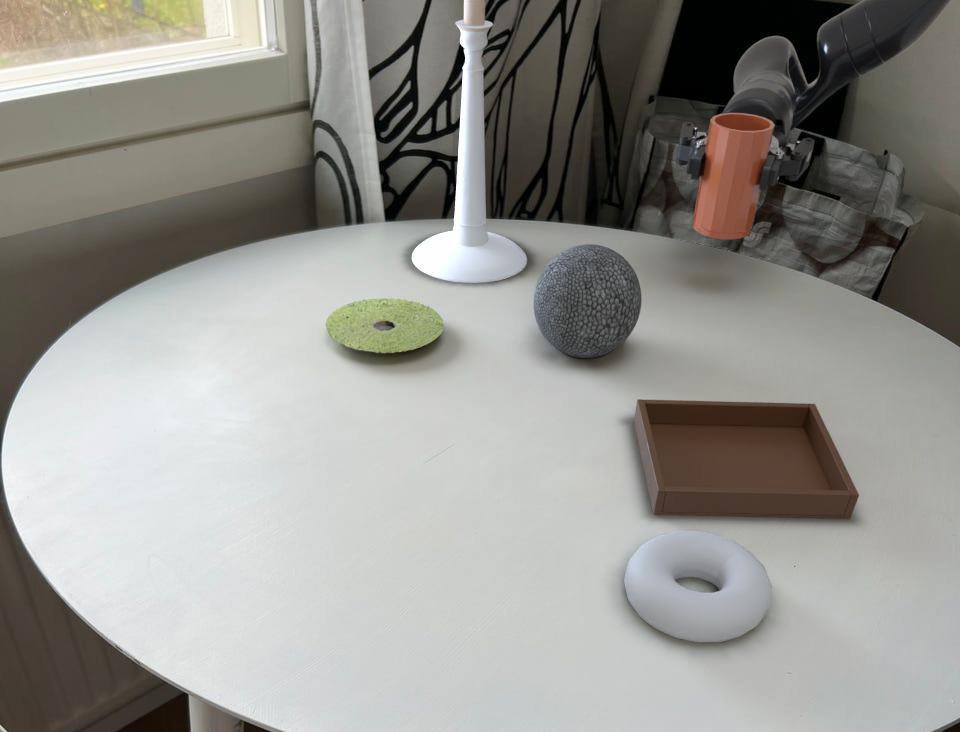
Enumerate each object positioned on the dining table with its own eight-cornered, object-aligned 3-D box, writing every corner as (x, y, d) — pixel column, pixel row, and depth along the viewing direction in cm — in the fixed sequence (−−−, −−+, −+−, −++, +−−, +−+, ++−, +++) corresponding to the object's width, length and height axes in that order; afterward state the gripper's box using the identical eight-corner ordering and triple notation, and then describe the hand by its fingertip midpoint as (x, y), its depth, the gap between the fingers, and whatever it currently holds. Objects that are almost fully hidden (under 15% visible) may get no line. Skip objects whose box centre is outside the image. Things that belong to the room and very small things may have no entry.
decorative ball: (580, 389, 87) (593, 282, 80) (508, 347, 92) (514, 243, 85) (654, 356, 92) (672, 253, 85) (582, 318, 97) (593, 218, 90)
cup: (744, 217, 100) (766, 113, 93) (756, 240, 96) (780, 132, 89) (688, 216, 100) (706, 112, 93) (697, 238, 96) (717, 131, 89)
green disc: (344, 310, 97) (343, 291, 95) (453, 321, 96) (453, 302, 94) (313, 363, 89) (311, 344, 87) (431, 376, 88) (431, 357, 86)
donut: (592, 605, 66) (715, 676, 61) (597, 567, 64) (725, 637, 59) (673, 541, 71) (792, 601, 67) (681, 503, 69) (805, 563, 64)
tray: (806, 432, 83) (815, 403, 81) (848, 524, 73) (859, 495, 71) (632, 427, 82) (637, 398, 80) (652, 520, 73) (658, 490, 71)
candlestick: (538, 284, 102) (562, -57, 81) (420, 290, 100) (414, -58, 79) (513, 237, 111) (529, -81, 90) (404, 242, 109) (396, -82, 88)
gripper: (695, 79, 103) (663, 122, 91) (831, 95, 99) (816, 142, 88) (683, 153, 108) (651, 203, 97) (812, 171, 105) (795, 225, 93)
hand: (730, 174), depth 92 cm, fingers closed on cup, 6 cm apart
